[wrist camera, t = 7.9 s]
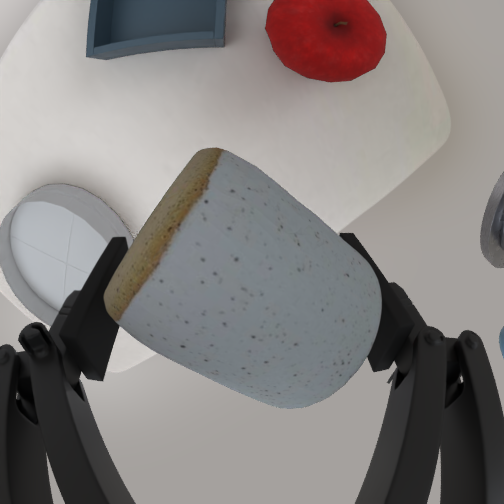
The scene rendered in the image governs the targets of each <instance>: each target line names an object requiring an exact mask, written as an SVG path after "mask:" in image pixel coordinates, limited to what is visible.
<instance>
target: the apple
mask: <svg viewBox="0 0 504 504" xmlns="http://www.w3.org/2000/svg"><path fill="white" fill-rule="evenodd" d="M265 29H266V31H267V34H268V36H269V38H270V41H271V44H272V48H273V51H274V52H275V53H276V55H277V56H278V57H279V59H280V60H281V61H282V63H283V64H284V65H285V66H286V67H288V68H290V69H292V70H293V71H295V72H297V73H299V74H300V75H302V76H304V77H307V78H310V79H316V80H321V81H326V82H341V81H351V80H353V79H355V78H357V77H359V76H361V75H363V74H365V73H367V72H369V71H371V70H373V69H375V68H376V66H377V65H378V63H379V61H380V60H381V58H382V56H383V55H384V53H385V46H386V36H387V34H386V31H385V29H384V26H383V23H382V21H381V18H380V16H379V14H378V13H377V12H376V10H375V9H374V8H373V7H372V6H371V4H370V3H369V2H368V1H367V0H274V1H273V3H272V4H271V6H270V7H269V8H268V14H267V20H266V26H265Z"/></svg>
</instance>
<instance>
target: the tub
mask: <svg viewBox="0 0 504 504" xmlns="http://www.w3.org/2000/svg"><path fill="white" fill-rule="evenodd" d="M226 4H227V0H91V4H90V12H89V21H88V32H87V48H86V57H90V58H96V59H103V60H109V59H113V58H118V57H123V56H129V55H135V54H141V53H148V52H156V51H164V50H174V49H187V48H207V47H224V40H225V21H226Z"/></svg>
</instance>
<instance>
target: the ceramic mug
mask: <svg viewBox="0 0 504 504" xmlns="http://www.w3.org/2000/svg"><path fill="white" fill-rule="evenodd" d="M104 302H105V306H106V310H107V312H108V314H109V315H110V316H111V317H112V318H113V319H114V321H115V322H116V323H117V324H118V325H120V326H121V327H122V328H123V329H124V330H125V331H127V332H128V333H129V334H130V335H131V336H133V337H134V338H135V339H136V340H138V341H139V342H141V343H142V344H144V345H145V346H147V347H148V348H150V349H151V350H153V351H155V352H157V353H159V354H161V355H162V356H165V357H166V358H168V359H170V360H172V361H174V362H176V363H178V364H180V365H182V366H184V367H186V368H188V369H191V370H193V371H195V372H197V373H199V374H201V375H203V376H205V377H207V378H209V379H211V380H213V381H215V382H218V383H219V384H221V385H224V386H226V387H228V388H230V389H232V390H234V391H237V392H239V393H241V394H244V395H246V396H248V397H251V398H253V399H256V400H258V401H261V402H263V403H266V404H268V405H272V406H275V407H279V408H287V409H293V408H302V407H307V406H310V405H312V404H315V403H317V402H319V401H322V400H324V399H326V398H328V397H329V396H331V395H332V394H334V393H335V392H336V391H337V390H339V389H340V388H341V387H343V386H344V385H345V384H346V383H347V382H348V380H349V379H350V378H351V377H352V376H353V375H354V374H355V373H356V372H357V371H358V369H359V368H360V367H361V365H362V364H363V362H364V361H365V359H366V357H367V356H368V354H369V352H370V350H371V348H372V346H373V343H374V340H375V338H376V335H377V332H378V328H379V323H380V318H381V310H382V297H381V289H380V285H379V282H378V279H377V277H376V275H375V273H374V271H373V269H372V267H371V266H370V264H369V263H368V262H367V261H366V260H365V259H364V258H363V257H362V256H361V255H360V254H359V253H358V252H357V251H356V250H355V249H354V248H352V247H351V246H350V245H349V244H348V243H346V242H345V241H344V240H343V239H342V238H341V237H340V236H339V235H338V234H336V233H335V232H334V231H333V230H332V229H331V228H330V227H329V226H328V225H327V224H325V223H324V222H323V221H322V220H321V219H320V218H319V217H318V216H316V215H315V214H314V213H313V212H312V211H310V210H309V209H308V208H306V207H305V206H304V205H302V204H301V203H300V202H299V201H297V200H296V199H295V198H294V197H293V196H292V195H291V194H289V193H288V192H287V191H286V190H285V189H284V188H282V187H281V186H280V185H279V184H278V183H276V182H275V181H274V180H273V179H271V178H270V177H269V176H268V175H266V174H265V173H264V172H263V171H261V170H260V169H259V168H257V167H256V166H254V165H252V164H251V163H249V162H247V161H245V160H244V159H242V158H240V157H238V156H236V155H234V154H233V153H231V152H229V151H226V150H223V149H220V148H206V149H202V150H200V151H198V152H197V153H196V154H195V155H194V156H193V157H192V159H191V160H190V161H189V163H188V164H187V165H186V167H185V168H184V169H183V171H182V172H181V173H180V174H179V176H178V177H177V178H176V180H175V181H174V182H173V184H172V185H171V187H170V188H169V189H168V191H167V192H166V194H165V195H164V196H163V198H162V199H161V201H160V202H159V204H158V205H157V207H156V208H155V209H154V211H153V212H152V214H151V215H150V217H149V218H148V220H147V221H146V223H145V224H144V226H143V228H142V229H141V231H140V232H139V234H138V235H137V237H136V238H135V240H134V241H133V243H132V245H131V246H130V248H129V250H128V251H127V253H126V254H125V256H124V258H123V260H122V261H121V263H120V264H119V266H118V268H117V269H116V271H115V273H114V275H113V277H112V278H111V280H110V282H109V284H108V286H107V288H106V290H105V293H104Z"/></svg>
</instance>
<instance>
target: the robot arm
mask: <svg viewBox="0 0 504 504" xmlns="http://www.w3.org/2000/svg"><path fill="white" fill-rule="evenodd" d="M339 236H340V237H341V238H342V239H343V240H344V241H345V242H346V243H348V244H349V245H350V246H351V247H352V248H354V249H355V250H356V251H357V252H358V253H359V254H360V255H361V256H362V257H363V258H364V259H365V260H366V261H367V262H368V263H369V264H370V266H371V267H372V269H373V271H374V273H375V275H376V277H377V279H378V282H379V285H380V289H381V297H382V310H381V318H380V323H379V328H378V332H377V335H376V338H375V340H374V343H373V346H372V348H371V350H370V352H369V354H368V356H367V357H368V360H369V363H370V365H371V367H372V370H373V372H377V371H382V370H386V369H389V368H390V366H391V365H392V363H393V361H395V363H396V365H397V368H396V370H395V371H394V372H393V374H392V375H391V377H390V378H389V380H388V382H387V383H390V382H391V380H392V379H393V381H392V386H391V391H390V395H389V399H388V404H387V408H386V412H385V416H384V420H383V424H382V428H381V431H380V434H379V438H378V441H377V445H376V448H375V451H374V454H373V457H372V460H371V463H370V466H369V469H368V471H367V474H366V477H365V480H364V482H363V485H362V487H361V490H360V492H359V495H358V497H357V500H356V502H355V504H427V500H428V497H429V494H430V490H431V486H432V482H433V477H434V474H435V469H436V464H437V459H438V454H439V448H440V452H441V498H440V499H441V500H440V504H504V416H503V411H502V407H501V402H500V398H499V394H498V390H497V386H496V383H495V379H494V376H493V372H492V369H491V366H490V363H489V360H488V356H487V353H486V351H485V348H484V345H483V342H482V340H481V338H480V337H479V336H478V335H477V334H476V333H474V332H472V331H469V330H465V331H463V332H462V333H461V334H460V336H459V337H458V339H457V338H447V337H445V336H444V335H443V333H442V332H441V331H439V330H438V329H436V328H434V327H430V326H427V325H426V323H425V321H424V320H423V318H422V317H421V316H420V314H419V312H418V311H417V309H416V308H415V306H414V305H412V302H411V300H410V299H409V298H408V296H407V294H406V293H405V291H404V290H403V289H402V288H401V287H400V286H398V285H397V284H396V283H394V282H393V283H388V281H387V280H386V278H385V277H384V275H383V274H382V272H381V271H380V270H379V268H378V267H377V265H376V264H375V263H374V261H373V260H372V258H371V257H370V255H369V254H368V253H367V251H366V250H365V248H364V247H363V246H362V244H361V243H360V242H359V240H358V239H357V238H356V237H355V235H354V234H353V233H340V235H339ZM501 246H502V249H503V250H504V221H503V225H502V230H501ZM128 250H129V249H128V244H127V239H126V236H125V237H112V239H111V240H110V242H109V243H108V245H107V247H106V248H105V250H104V251H103V253H102V255H101V256H100V258H99V260H98V261H97V263H96V265H95V266H94V268H93V270H92V271H91V273H90V275H89V277H88V278H87V280H86V282H85V284H84V285H83V287H82V289H81V290H74V291H73V292H72V293H71V294H70V295H69V296H68V297H67V298H66V300H65V301H64V303H63V305H62V308H61V309H60V311H59V312H58V313H59V314H57V316H56V318H55V320H54V322H53V324H52V326H51V328H50V330H49V332H48V330H47V329H46V327H45V325H43V324H42V323H39V322H34V323H31V324H29V325H27V326H26V327H25V328H24V329H23V330H22V331H21V333H20V335H19V338H18V341H19V342H20V344H21V345H22V347H23V348H24V350H25V351H23V352H16V351H15V349H14V348H13V347H12V346H11V345H8V344H5V345H2V346H1V347H0V504H53V499H52V494H51V488H50V482H49V475H48V467H47V457H46V452H47V456H48V459H49V462H50V465H51V468H52V471H53V474H54V477H55V479H56V482H57V485H58V487H59V489H60V492H61V495H62V497H63V500H64V502H65V504H136V503H135V502H134V500H133V498H132V497H131V495H130V493H129V492H128V490H127V488H126V486H125V484H124V483H123V481H122V479H121V477H120V475H119V473H118V471H117V469H116V467H115V465H114V463H113V461H112V459H111V457H110V455H109V452H108V450H107V448H106V446H105V444H104V441H103V439H102V436H101V434H100V432H99V429H98V427H97V424H96V422H95V419H94V416H93V414H92V411H91V408H90V405H89V403H88V399H87V396H86V393H85V390H84V387H83V384H82V382H81V380H80V379H79V378H80V375H81V372H83V374H84V375H85V376H86V378H87V379H91V380H97V381H103V379H104V376H105V372H106V369H107V365H108V362H109V358H110V355H111V351H112V348H113V345H114V342H115V339H116V335H117V332H118V329H119V326H120V325H118V324H117V323H116V322H115V321H114V319H113V318H112V317H111V316H110V315H109V314H108V312H107V310H106V306H105V302H104V293H105V290H106V288H107V286H108V284H109V282H110V280H111V278H112V277H113V275H114V273H115V271H116V269H117V268H118V266H119V264H120V263H121V261H122V260H123V258H124V256H125V254H126V253H127V251H128ZM499 343H500V349H501V352H502V355H503V358H504V327H503V328H502V330H501V332H500V336H499ZM461 376H462V377H463V382H462V383H461V380H460V377H461ZM17 393H18V394H17ZM16 395H17V399H16Z"/></svg>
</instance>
